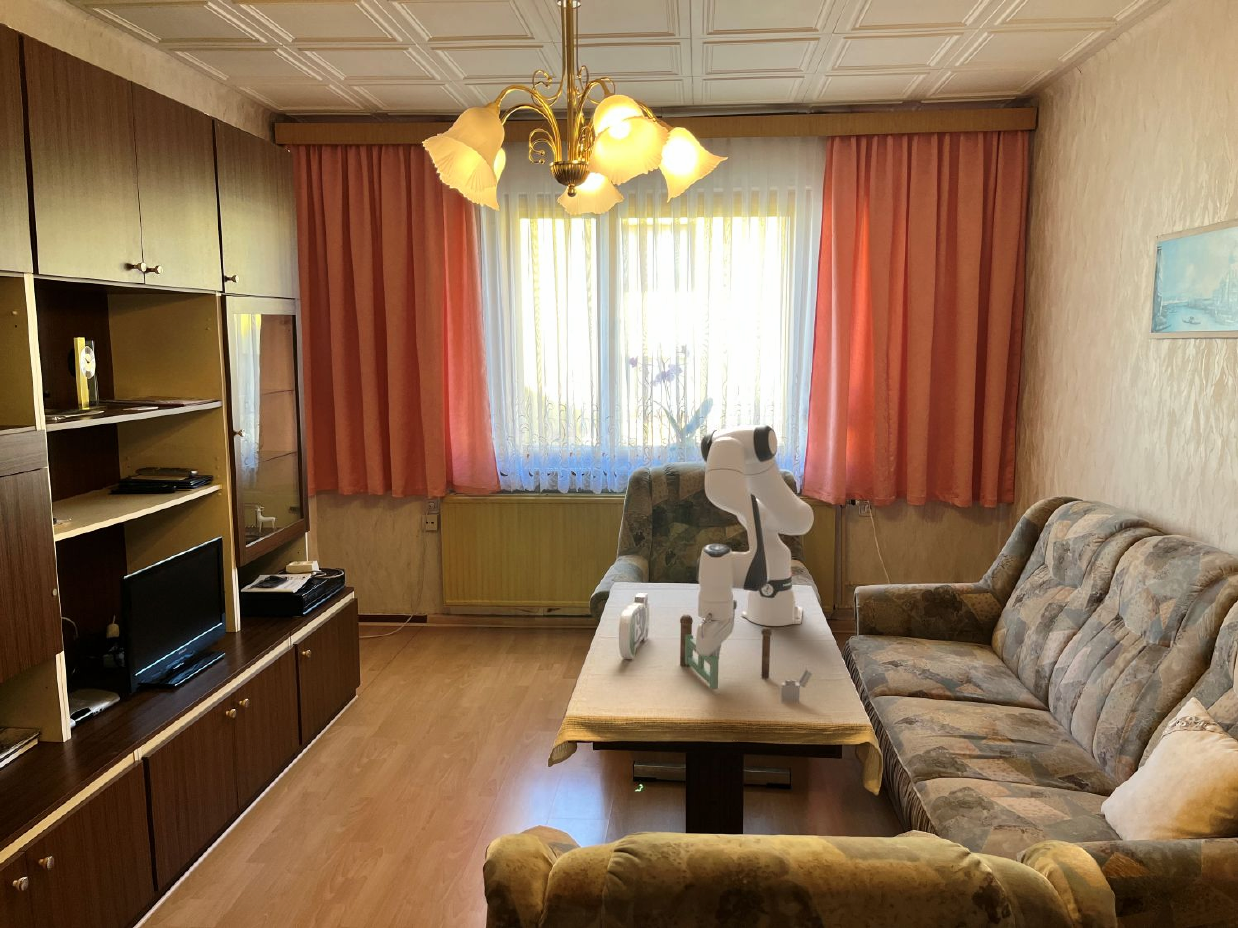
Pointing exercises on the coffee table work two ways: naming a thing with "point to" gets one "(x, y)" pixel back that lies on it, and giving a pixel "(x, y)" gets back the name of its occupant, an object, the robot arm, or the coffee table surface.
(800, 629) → the coffee table surface
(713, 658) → the gate
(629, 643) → the cutout
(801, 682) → the lighter
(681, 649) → the gate posts
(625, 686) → the coffee table surface
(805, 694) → the coffee table surface
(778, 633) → the coffee table surface
